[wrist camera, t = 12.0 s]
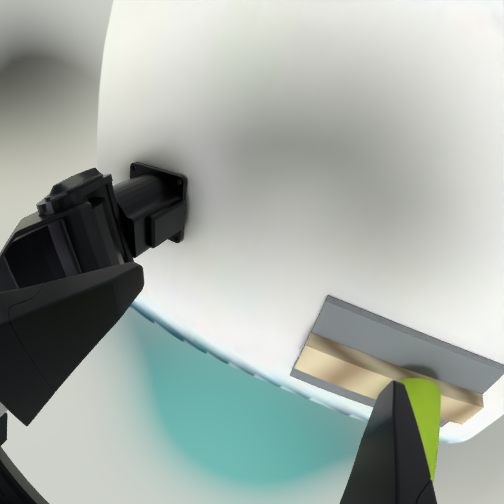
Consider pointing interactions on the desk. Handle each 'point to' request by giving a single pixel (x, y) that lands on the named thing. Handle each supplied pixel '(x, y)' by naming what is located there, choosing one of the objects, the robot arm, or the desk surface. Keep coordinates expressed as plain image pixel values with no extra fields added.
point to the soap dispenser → (426, 415)
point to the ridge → (377, 376)
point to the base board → (398, 351)
